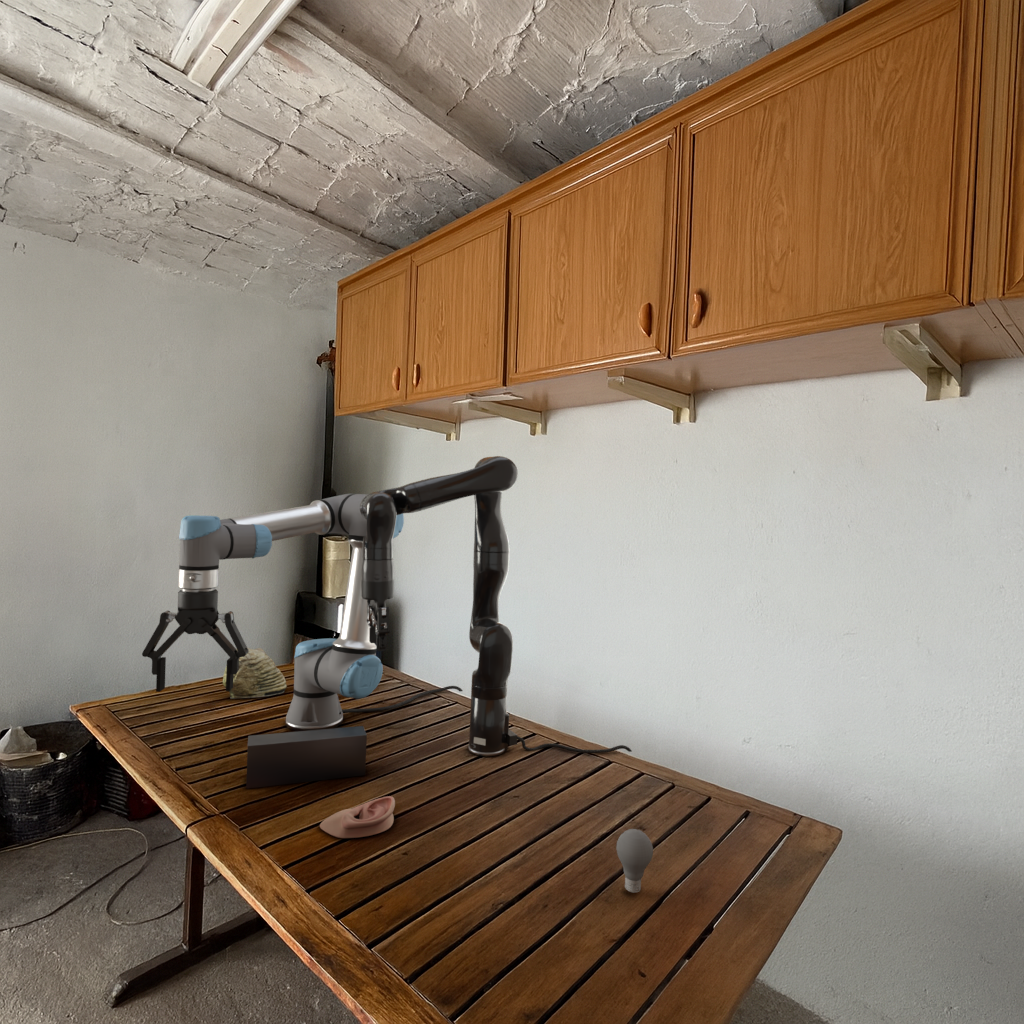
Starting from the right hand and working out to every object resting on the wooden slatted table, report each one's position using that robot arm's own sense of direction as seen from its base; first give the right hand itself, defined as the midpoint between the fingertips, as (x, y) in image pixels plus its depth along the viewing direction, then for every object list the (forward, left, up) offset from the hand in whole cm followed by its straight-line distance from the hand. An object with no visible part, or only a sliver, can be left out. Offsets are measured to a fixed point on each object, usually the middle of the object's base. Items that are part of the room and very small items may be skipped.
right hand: (377, 646), depth 149 cm
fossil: (+20, -66, -29) cm, 74 cm away
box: (+15, -1, -29) cm, 32 cm away
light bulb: (-27, +63, -29) cm, 74 cm away
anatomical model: (+9, +24, -29) cm, 39 cm away
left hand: (+38, -2, -7) cm, 39 cm away
